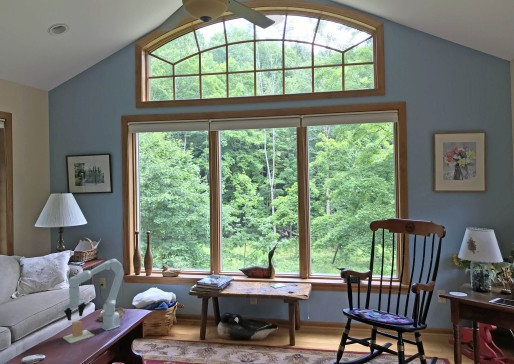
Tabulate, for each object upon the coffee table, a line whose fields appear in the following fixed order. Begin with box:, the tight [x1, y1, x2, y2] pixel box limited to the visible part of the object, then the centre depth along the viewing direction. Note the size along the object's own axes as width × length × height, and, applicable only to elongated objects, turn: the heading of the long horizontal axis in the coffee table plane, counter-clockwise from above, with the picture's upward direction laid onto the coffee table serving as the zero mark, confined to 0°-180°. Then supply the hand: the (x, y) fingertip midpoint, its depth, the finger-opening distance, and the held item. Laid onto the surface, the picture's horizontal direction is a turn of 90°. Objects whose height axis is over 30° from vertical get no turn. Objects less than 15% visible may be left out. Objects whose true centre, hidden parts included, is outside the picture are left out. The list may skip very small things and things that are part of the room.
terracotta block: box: [71, 319, 84, 337], centre depth 228 cm, size 4×4×8 cm
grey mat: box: [62, 329, 95, 344], centre depth 227 cm, size 14×12×1 cm
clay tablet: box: [97, 307, 126, 323], centre depth 260 cm, size 14×5×20 cm
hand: (75, 318), depth 230 cm, fingers open, 7 cm apart
